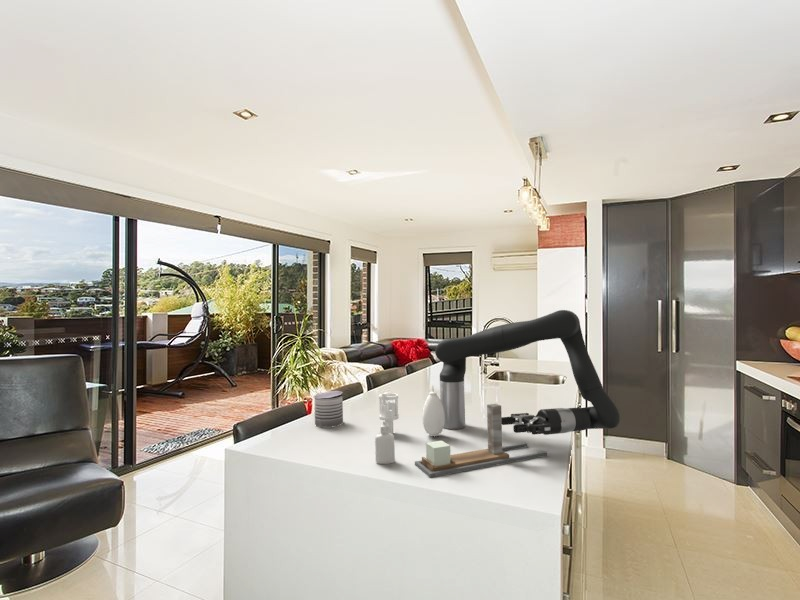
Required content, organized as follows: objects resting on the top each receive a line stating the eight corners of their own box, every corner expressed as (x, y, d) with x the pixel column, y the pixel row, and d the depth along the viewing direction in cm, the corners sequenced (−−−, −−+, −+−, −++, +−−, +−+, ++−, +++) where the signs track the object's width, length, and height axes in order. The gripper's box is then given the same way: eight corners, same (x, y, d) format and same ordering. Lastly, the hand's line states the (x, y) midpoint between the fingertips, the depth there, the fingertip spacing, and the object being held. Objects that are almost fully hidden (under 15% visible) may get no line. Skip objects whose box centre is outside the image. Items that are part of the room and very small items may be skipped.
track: (414, 465, 124) (414, 461, 124) (525, 445, 138) (525, 442, 138) (429, 477, 114) (429, 473, 114) (547, 455, 129) (546, 452, 129)
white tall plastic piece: (375, 434, 153) (375, 392, 154) (385, 429, 160) (384, 389, 160) (393, 437, 150) (392, 394, 150) (402, 431, 156) (401, 390, 157)
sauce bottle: (444, 440, 146) (442, 387, 146) (421, 439, 147) (420, 386, 148) (446, 433, 154) (445, 382, 154) (424, 432, 155) (423, 382, 155)
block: (426, 460, 122) (426, 442, 122) (442, 457, 124) (441, 440, 124) (434, 466, 118) (433, 448, 118) (450, 463, 120) (450, 445, 120)
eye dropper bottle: (379, 458, 130) (378, 418, 130) (396, 460, 128) (395, 420, 128) (373, 463, 126) (372, 422, 126) (391, 465, 124) (390, 423, 124)
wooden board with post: (421, 465, 123) (420, 410, 123) (495, 452, 132) (494, 401, 132) (432, 473, 116) (431, 416, 117) (509, 459, 126) (508, 406, 126)
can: (340, 427, 164) (340, 395, 164) (311, 427, 164) (310, 396, 164) (345, 419, 175) (344, 390, 176) (317, 419, 176) (317, 390, 176)
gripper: (543, 403, 139) (496, 407, 136) (569, 414, 126) (518, 418, 122) (543, 426, 139) (497, 430, 136) (569, 440, 125) (519, 444, 122)
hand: (507, 424), depth 129 cm, fingers open, 8 cm apart
